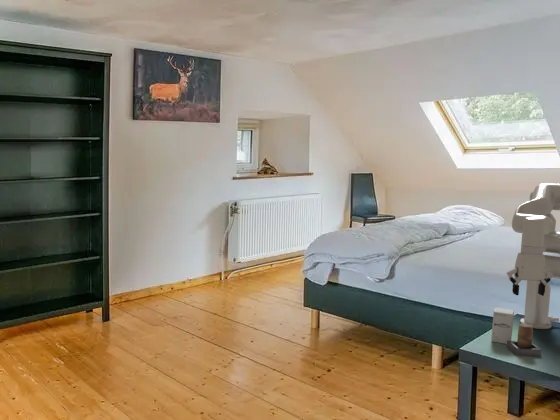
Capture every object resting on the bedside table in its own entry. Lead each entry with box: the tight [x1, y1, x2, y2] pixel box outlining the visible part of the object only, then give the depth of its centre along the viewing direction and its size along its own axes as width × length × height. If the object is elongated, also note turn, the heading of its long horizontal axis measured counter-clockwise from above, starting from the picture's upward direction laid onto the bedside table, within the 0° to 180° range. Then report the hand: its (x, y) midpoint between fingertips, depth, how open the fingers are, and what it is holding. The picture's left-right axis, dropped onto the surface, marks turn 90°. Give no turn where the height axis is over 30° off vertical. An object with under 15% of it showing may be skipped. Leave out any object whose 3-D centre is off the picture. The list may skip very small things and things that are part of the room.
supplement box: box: [490, 306, 515, 345], centre depth 215 cm, size 7×7×13 cm
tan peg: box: [516, 323, 534, 348], centre depth 204 cm, size 5×5×10 cm
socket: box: [506, 340, 542, 357], centre depth 204 cm, size 9×9×2 cm
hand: (528, 294), depth 202 cm, fingers open, 9 cm apart
